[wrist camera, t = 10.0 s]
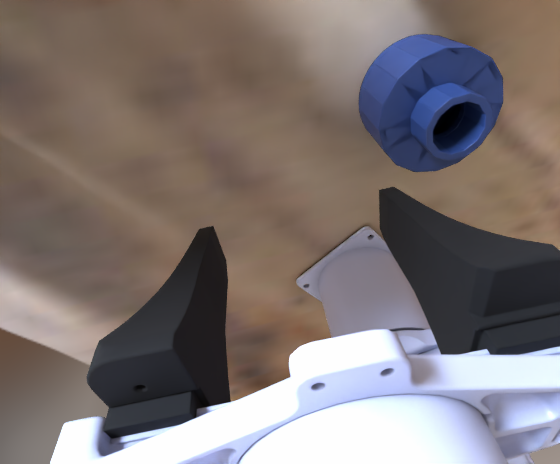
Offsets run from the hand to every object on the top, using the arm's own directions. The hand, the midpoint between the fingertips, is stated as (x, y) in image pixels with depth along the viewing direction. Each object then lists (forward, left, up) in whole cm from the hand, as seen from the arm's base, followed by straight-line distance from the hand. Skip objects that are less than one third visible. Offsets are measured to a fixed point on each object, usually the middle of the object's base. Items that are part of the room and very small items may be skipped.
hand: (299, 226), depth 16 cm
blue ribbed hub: (-4, -8, -10) cm, 14 cm away
